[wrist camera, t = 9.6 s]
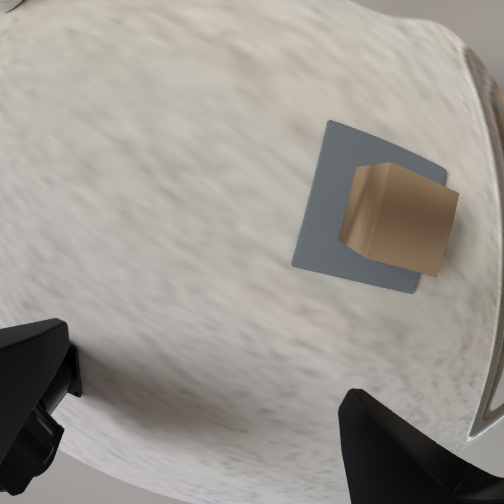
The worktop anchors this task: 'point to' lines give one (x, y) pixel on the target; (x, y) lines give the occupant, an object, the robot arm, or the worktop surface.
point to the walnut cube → (398, 217)
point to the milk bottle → (8, 5)
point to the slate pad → (335, 202)
